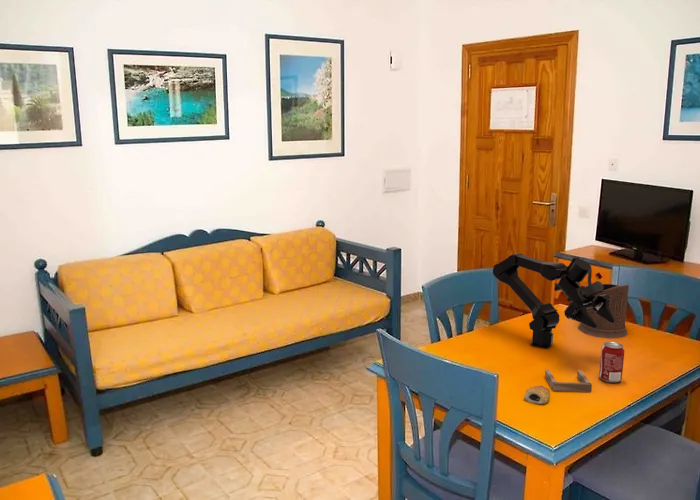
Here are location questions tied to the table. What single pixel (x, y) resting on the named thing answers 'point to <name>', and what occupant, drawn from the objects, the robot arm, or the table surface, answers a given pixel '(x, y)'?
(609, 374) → the soda can
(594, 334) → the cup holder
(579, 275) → the robot arm
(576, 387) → the frame
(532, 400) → the pastry
